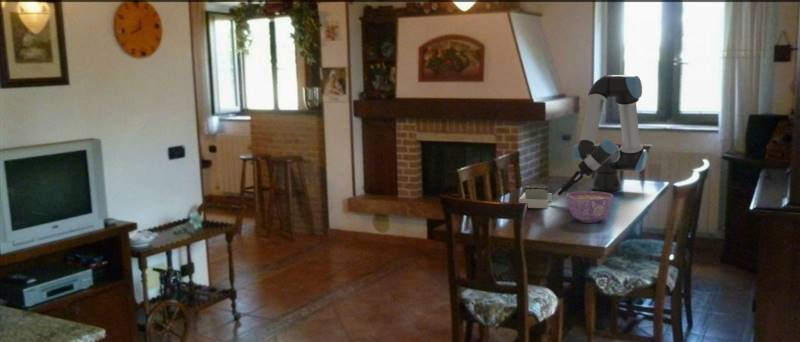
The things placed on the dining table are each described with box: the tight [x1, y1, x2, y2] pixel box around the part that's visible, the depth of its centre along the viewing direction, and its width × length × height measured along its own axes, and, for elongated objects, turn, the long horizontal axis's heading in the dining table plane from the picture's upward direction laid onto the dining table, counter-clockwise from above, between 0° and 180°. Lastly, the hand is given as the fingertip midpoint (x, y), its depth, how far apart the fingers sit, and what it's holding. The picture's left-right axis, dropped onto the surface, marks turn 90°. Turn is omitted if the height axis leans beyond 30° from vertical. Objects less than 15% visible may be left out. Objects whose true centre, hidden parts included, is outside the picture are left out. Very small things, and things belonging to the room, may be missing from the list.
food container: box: [523, 183, 550, 200], centre depth 365 cm, size 12×6×10 cm, turn 74°
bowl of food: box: [565, 190, 614, 224], centre depth 327 cm, size 20×20×12 cm
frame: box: [518, 192, 553, 209], centre depth 368 cm, size 14×18×4 cm
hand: (553, 198), depth 366 cm, fingers closed
